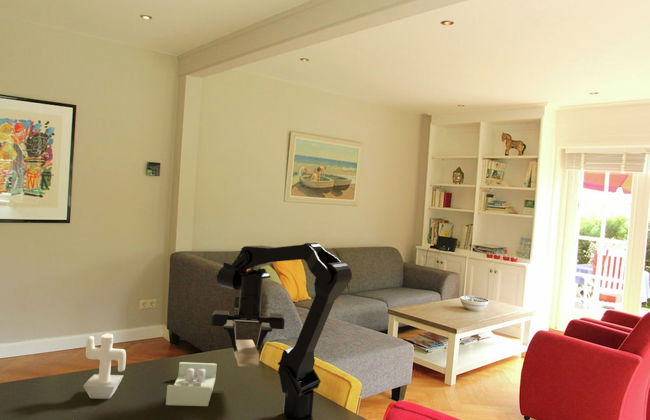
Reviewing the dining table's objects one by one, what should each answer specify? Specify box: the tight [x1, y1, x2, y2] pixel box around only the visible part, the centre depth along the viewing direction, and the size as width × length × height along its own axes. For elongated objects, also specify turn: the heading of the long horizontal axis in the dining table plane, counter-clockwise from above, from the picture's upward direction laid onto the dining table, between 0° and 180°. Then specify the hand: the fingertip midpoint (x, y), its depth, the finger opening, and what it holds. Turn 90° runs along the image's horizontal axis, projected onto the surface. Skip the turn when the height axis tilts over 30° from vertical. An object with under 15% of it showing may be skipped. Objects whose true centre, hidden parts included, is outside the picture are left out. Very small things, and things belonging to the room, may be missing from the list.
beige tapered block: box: [232, 339, 260, 367], centre depth 125 cm, size 5×12×3 cm, turn 17°
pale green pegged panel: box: [165, 361, 217, 407], centre depth 124 cm, size 10×17×4 cm, turn 7°
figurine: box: [82, 332, 127, 400], centre depth 117 cm, size 7×9×15 cm
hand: (245, 351), depth 125 cm, fingers closed on beige tapered block, 5 cm apart
